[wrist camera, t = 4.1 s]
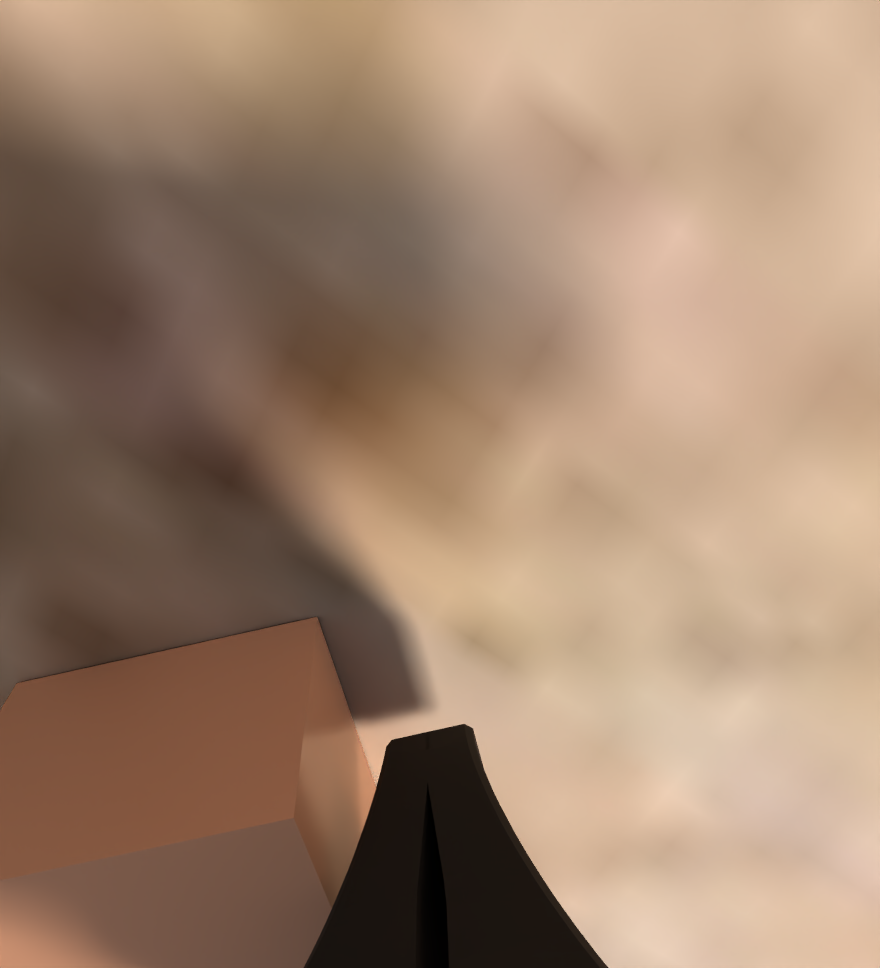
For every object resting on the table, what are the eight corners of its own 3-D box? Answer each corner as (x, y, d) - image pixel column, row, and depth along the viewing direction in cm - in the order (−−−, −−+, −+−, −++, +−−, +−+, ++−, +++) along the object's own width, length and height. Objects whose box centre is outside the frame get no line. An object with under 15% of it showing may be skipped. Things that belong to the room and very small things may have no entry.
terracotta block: (392, 832, 15) (396, 1061, 12) (133, 886, 15) (58, 1129, 12) (316, 617, 13) (293, 817, 9) (16, 683, 13) (-119, 904, 10)
